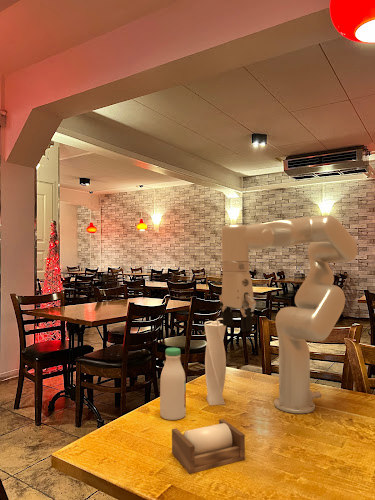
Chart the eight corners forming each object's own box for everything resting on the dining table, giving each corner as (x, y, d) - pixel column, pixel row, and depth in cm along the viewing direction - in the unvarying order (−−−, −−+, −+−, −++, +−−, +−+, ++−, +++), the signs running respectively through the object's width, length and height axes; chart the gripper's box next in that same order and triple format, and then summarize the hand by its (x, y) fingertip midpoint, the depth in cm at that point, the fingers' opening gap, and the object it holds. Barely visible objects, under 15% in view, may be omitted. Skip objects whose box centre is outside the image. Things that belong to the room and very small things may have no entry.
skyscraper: (229, 406, 125) (229, 318, 126) (207, 407, 124) (206, 319, 125) (223, 397, 133) (223, 315, 134) (202, 398, 132) (202, 315, 133)
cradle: (223, 441, 101) (223, 418, 101) (244, 459, 92) (244, 434, 92) (171, 453, 95) (171, 429, 95) (189, 473, 86) (189, 447, 86)
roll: (220, 443, 98) (220, 419, 99) (233, 454, 93) (233, 428, 93) (182, 451, 94) (182, 426, 94) (193, 463, 89) (193, 437, 89)
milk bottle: (182, 421, 113) (182, 352, 114) (157, 419, 115) (157, 351, 115) (188, 411, 121) (188, 346, 121) (163, 409, 122) (163, 345, 123)
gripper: (265, 268, 105) (266, 331, 105) (230, 266, 121) (231, 322, 121) (241, 269, 102) (243, 335, 102) (209, 267, 117) (210, 324, 117)
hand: (237, 328), depth 111 cm, fingers open, 9 cm apart
